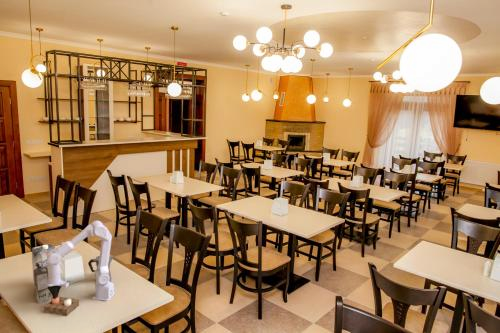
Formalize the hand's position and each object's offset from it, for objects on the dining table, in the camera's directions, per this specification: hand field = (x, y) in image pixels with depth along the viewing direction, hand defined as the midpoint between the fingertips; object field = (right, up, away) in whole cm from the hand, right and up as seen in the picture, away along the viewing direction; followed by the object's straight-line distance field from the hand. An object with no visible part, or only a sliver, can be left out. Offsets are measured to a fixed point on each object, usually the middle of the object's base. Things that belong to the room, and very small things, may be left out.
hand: (55, 297), depth 185 cm
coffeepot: (+11, -2, +31) cm, 33 cm away
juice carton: (-17, -2, +20) cm, 26 cm away
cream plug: (+7, -6, 0) cm, 9 cm away
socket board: (+3, -6, +1) cm, 7 cm away
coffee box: (-13, -4, +10) cm, 17 cm away
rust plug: (0, -5, +1) cm, 5 cm away
